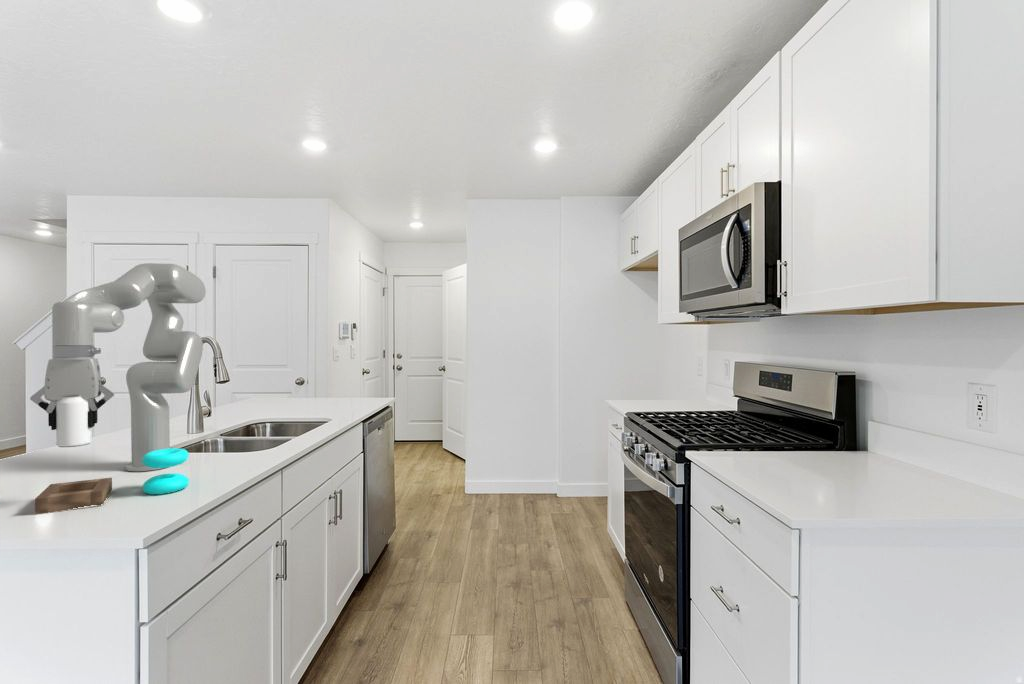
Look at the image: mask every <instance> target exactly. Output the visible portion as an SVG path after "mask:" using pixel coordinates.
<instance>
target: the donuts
mask: <svg viewBox="0 0 1024 684" xmlns="http://www.w3.org/2000/svg"><path fill="white" fill-rule="evenodd" d="M189 456H190V455H189V451H187V450H186V449H185V448H178V447H177V448H175V447H173V448H172V447H170V449H161V450H156V451H152V452H149V453H147V454H145V455H144V456H143V458H142V462H143V464H144V465H146V466H148V467H151V468H162V469H167V468H172V467H175V466H178V465H181V464H184V463H185V462H186V461H187V460H188V459H189ZM189 483H190V481H189V477H188V476H187V475H184V474H183V473H182V474H181V473H176V472H174V473H171V472H170V473H162V474H158V475H155V476H152V477H150V478H148V479H147V480H145V481H144V483H143V485H142V491H143V492H144V493H146V494H147V495H154V494H158V495H165V494H164V493H168V494H171V493H170V492H173V493H176V492H175V491H177V492H179V491H178V490H180V491H182V490H184V489H186V488H187V487H188V486H189ZM185 487H186V488H185ZM183 488H184V489H183ZM181 489H182V490H181Z"/></svg>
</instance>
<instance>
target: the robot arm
mask: <svg viewBox="0 0 1024 684" xmlns="http://www.w3.org/2000/svg"><path fill="white" fill-rule="evenodd" d="M206 291H207V290H206V285H205V283H204V282H203V281H202V279H201V278H200V277H198V276H197V275H196V274H194V273H193V272H191V271H190V270H189V269H187V268H185V267H183V266H181V265H178V264H175V263H155V262H154V263H153V262H152V263H151V262H149V263H148V262H147V263H146V262H145V263H140V264H137V265H135V266H134V267H132V268H131V269H130V270H128V271H126V272H125V273H124V274H122V275H121V276H120V277H118V278H117V279H115V280H113V281H110V282H107V283H103V284H100V285H96V286H94V287H90V288H87V289H84V290H83V289H82V290H81V291H78V292H75V293H73V294H71V295H69V297H67V298H66V299H64V300H62V301H57V302H55V303H54V304H53V305H52V307H51V328H52V329H51V343H52V347H51V351H52V352H51V355H52V356H51V357H52V358H49V359H48V362H47V365H46V371H45V378H44V386H42V387H41V388H39V390H37V391H36V392H35V393H34V394H32V395H31V396H30V397H29V400H30V401H32V402H33V403H34V404H36V405H38V407H40V408H41V409H43V410H44V411H45V412H46V413H47V414H48V419H47V420H48V421H47V422H48V427H51V428H50V429H51V431H56V404H57V402H58V401H59V400H61V399H62V396H81V398H82V399H85V400H88V405H89V407H90V411H89V412H88V427H89V428H91V429H92V428H93V427H95V425H96V424H98V410H99V409H100V408H101V407H102V406H103V405H104V404H106V403H107V402H108V401H109V400H111V399H112V398H113V397H114V396H115V393H114V392H112V391H111V390H110V389H109V388H107V387H106V386H105V385H103V384H102V377H101V370H100V369H101V367H100V363H99V359H98V358H94V357H95V355H99V354H102V353H101V352H102V348H97V347H95V345H94V333H102V334H103V333H114V332H115V331H116V332H117V330H119V329H121V327H122V326H123V325H124V323H125V314H124V310H125V311H126V310H129V309H132V308H136V307H139V306H140V305H141V304H143V303H144V302H145V301H146V300H147V303H148V306H149V308H150V311H151V320H150V321H151V322H150V325H149V327H148V330H147V333H146V336H145V340H144V341H143V342H144V343H143V346H142V354H143V356H144V357H145V359H147V360H150V361H142V362H137V363H135V364H133V365H131V366H130V367H129V368H128V369H127V372H126V374H125V380H126V386H127V389H128V393H129V395H128V396H129V399H130V429H131V430H130V434H131V436H130V437H131V438H130V439H131V441H130V442H131V443H130V444H131V445H130V446H131V448H130V449H131V451H130V454H131V462H127V463H126V464H125V465H124V470H125V471H129V472H146V471H148V472H149V471H150V472H151V471H157V470H162V469H163V468H151V467H148V466H146V465H144V464H143V462H142V458H143V456H144V455H145V454H147V453H149V452H152V451H156V450H161V449H170V448H171V447H170V446H171V444H170V443H171V441H170V433H171V432H170V405H169V403H168V401H167V399H166V398H165V397H164V396H163V394H184V393H188V392H189V391H191V389H192V388H193V386H194V384H195V382H196V378H197V374H198V371H199V368H200V363H201V360H202V357H203V352H204V351H203V350H204V344H203V340H202V337H201V336H200V335H199V333H197V332H195V331H190V330H183V328H184V319H183V316H182V315H181V313H180V312H179V311H178V309H176V307H175V306H174V305H173V304H198V303H201V302H202V301H203V300H204V299H205V297H206V295H207V293H206ZM101 395H104V396H103V397H102V398H101V399H99V400H98V401H97V400H96V398H98V397H100V396H101ZM43 396H44V399H45V400H43V398H42V397H43ZM47 401H49V402H47Z"/></svg>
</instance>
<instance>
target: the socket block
mask: <svg viewBox="0 0 1024 684" xmlns="http://www.w3.org/2000/svg"><path fill="white" fill-rule="evenodd" d="M111 491H112V492H113V477H105V478H103V477H102V478H96V479H95V478H94V479H85V480H77V481H67V482H58V483H57V482H56V483H51V484H49V485H48V486H47V487H46V488H45V489H44V490H43V491H42V492H40V494H38V495H37V496H36V497H35V498H34V515H41V514H48V512H50V513H56V512H55V511H58V512H63V511H62V510H66V511H69V510H68V509H73V508H78V507H84V506H91V505H101V504H103V503H104V501H105V500H106V498H107V497H108V495H109V494H110V495H111V493H112V492H111ZM110 495H109V496H110ZM108 498H109V497H108ZM108 498H107V499H108ZM106 501H107V500H106ZM106 501H105V502H106ZM104 504H105V503H104ZM104 504H103V505H104ZM73 510H74V509H73Z"/></svg>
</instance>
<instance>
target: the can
mask: <svg viewBox="0 0 1024 684" xmlns="http://www.w3.org/2000/svg"><path fill="white" fill-rule="evenodd" d="M89 411H90V407H89V405H88V400H85V399H82V398H81V396H62V399H61V400H59V401H58V402H57V404H56V429H55V431H56V432H55V433H56V435H55V437H56V439H55V440H56V441H55V442H56V447H59V448H77V447H82V446H88V445H90V444H91V443H92V428H89V427H88V412H89Z"/></svg>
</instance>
